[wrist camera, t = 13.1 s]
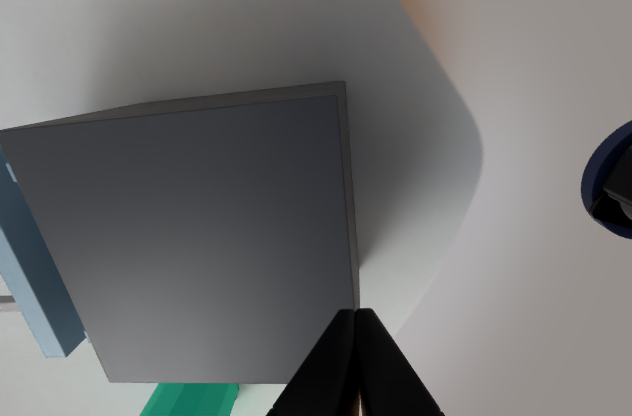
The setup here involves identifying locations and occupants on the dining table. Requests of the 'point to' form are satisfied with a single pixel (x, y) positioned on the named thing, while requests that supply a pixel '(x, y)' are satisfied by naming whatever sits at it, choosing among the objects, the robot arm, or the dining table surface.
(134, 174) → the dark grey box
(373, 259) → the dining table surface
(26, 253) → the drawer
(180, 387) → the candle
